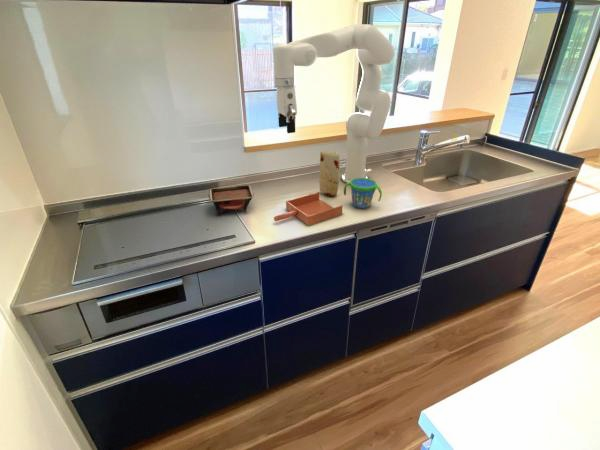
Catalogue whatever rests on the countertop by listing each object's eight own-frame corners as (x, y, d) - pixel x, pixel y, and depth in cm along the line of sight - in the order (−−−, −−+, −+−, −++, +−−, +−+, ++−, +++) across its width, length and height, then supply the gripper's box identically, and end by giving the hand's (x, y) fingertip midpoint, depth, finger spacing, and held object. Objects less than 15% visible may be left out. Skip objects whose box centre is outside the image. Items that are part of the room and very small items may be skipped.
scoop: (318, 199, 149) (318, 191, 147) (342, 214, 138) (342, 205, 136) (264, 216, 137) (263, 207, 135) (285, 233, 125) (284, 224, 123)
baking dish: (252, 218, 139) (254, 195, 135) (207, 216, 135) (207, 192, 131) (250, 205, 152) (252, 183, 148) (209, 202, 148) (209, 180, 144)
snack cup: (383, 204, 145) (386, 181, 140) (375, 214, 137) (377, 191, 132) (348, 196, 152) (350, 174, 147) (339, 206, 144) (340, 183, 139)
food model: (315, 194, 154) (316, 150, 144) (324, 189, 159) (325, 146, 149) (333, 199, 149) (335, 155, 139) (342, 194, 154) (344, 151, 144)
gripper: (303, 85, 120) (304, 134, 128) (286, 79, 134) (288, 123, 142) (283, 86, 118) (285, 136, 126) (268, 80, 131) (271, 125, 140)
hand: (286, 129), depth 134 cm, fingers open, 9 cm apart
